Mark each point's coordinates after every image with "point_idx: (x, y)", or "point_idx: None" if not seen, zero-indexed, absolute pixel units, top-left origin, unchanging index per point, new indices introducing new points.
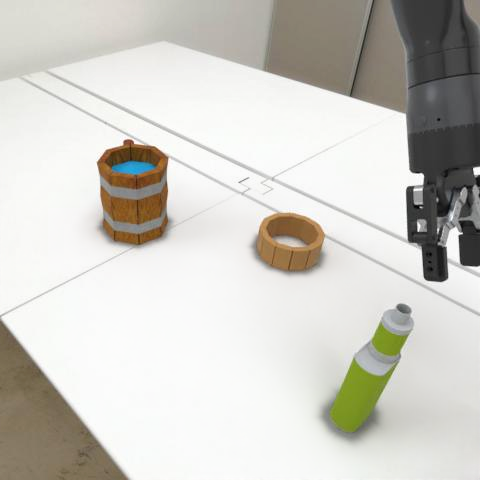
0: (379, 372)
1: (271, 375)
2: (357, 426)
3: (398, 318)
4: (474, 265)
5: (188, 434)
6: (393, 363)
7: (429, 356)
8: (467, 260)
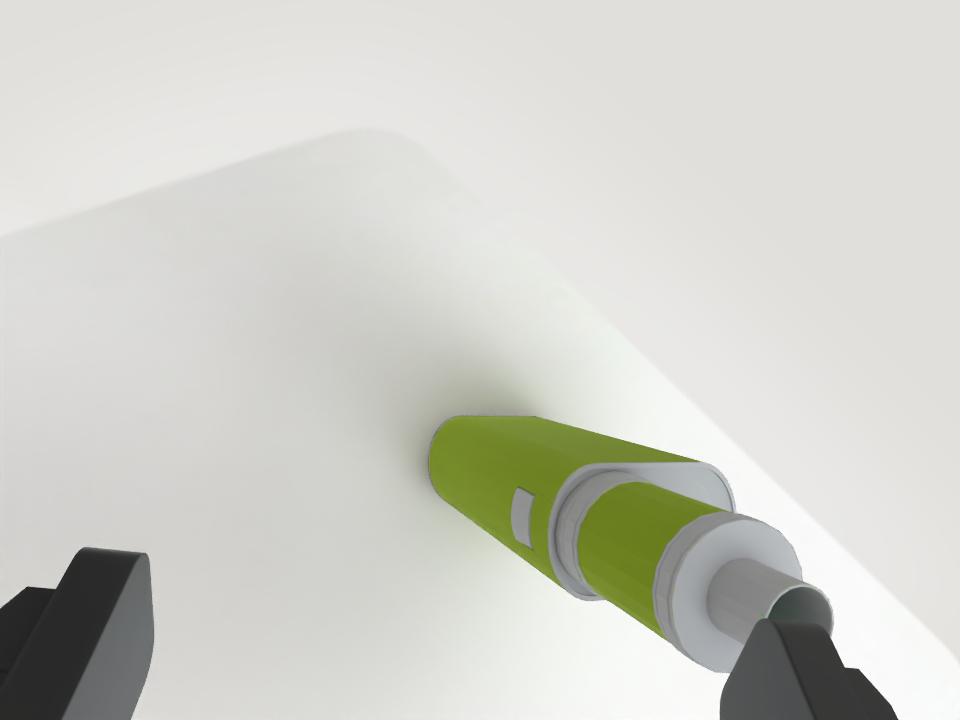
0: (704, 479)
1: (563, 696)
2: (543, 419)
3: (802, 601)
4: (146, 583)
5: None
6: (631, 469)
7: (30, 409)
8: (136, 657)
